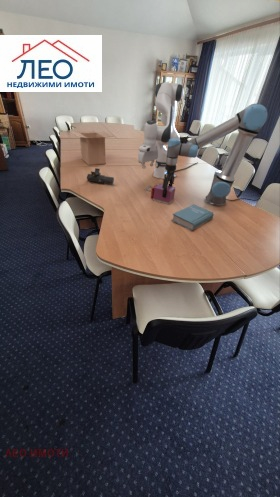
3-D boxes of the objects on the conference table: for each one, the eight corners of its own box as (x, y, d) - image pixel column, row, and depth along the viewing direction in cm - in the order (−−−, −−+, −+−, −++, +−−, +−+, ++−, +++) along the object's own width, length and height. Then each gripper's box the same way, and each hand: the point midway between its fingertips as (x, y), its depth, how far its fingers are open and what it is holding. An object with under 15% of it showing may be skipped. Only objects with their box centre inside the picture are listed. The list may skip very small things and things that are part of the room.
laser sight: (111, 186, 182) (110, 174, 176) (85, 182, 185) (84, 170, 179) (114, 182, 190) (114, 170, 184) (89, 179, 192) (88, 167, 186)
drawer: (143, 196, 168) (144, 186, 163) (148, 192, 174) (149, 182, 170) (164, 201, 162) (166, 191, 157) (169, 197, 169) (170, 187, 164)
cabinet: (153, 200, 165) (154, 187, 159) (158, 195, 173) (159, 183, 167) (168, 204, 161) (170, 191, 155) (173, 199, 168) (175, 187, 163)
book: (192, 210, 154) (193, 204, 151) (212, 219, 146) (214, 212, 143) (171, 220, 141) (173, 213, 138) (192, 231, 132) (194, 224, 129)
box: (116, 165, 229) (116, 136, 213) (83, 168, 214) (80, 137, 198) (102, 154, 259) (101, 128, 243) (71, 156, 244) (68, 129, 228)
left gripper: (154, 144, 164) (152, 163, 172) (137, 148, 150) (135, 168, 158) (161, 146, 161) (159, 165, 169) (144, 149, 147) (142, 170, 155)
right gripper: (171, 159, 160) (167, 188, 173) (159, 166, 143) (156, 198, 156) (181, 161, 157) (176, 191, 170) (170, 169, 141) (165, 201, 154)
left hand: (147, 167), depth 163 cm, fingers open, 8 cm apart
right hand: (166, 194), depth 163 cm, fingers closed on cabinet, 10 cm apart
